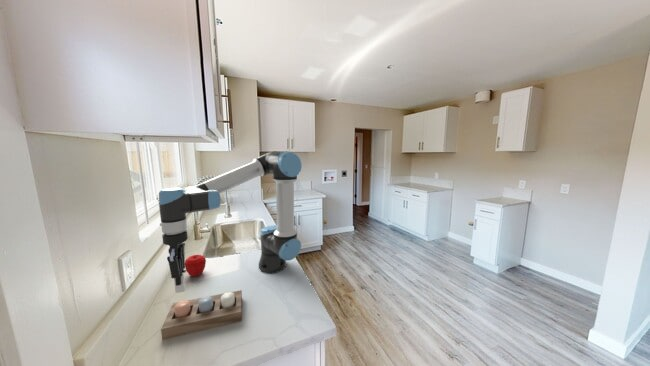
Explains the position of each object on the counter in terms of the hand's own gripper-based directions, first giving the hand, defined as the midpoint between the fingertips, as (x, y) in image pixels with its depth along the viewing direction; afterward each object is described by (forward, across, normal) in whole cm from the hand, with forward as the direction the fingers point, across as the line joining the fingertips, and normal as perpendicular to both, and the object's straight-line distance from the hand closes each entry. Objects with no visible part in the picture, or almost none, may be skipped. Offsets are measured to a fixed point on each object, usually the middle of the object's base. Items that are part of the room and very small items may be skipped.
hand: (180, 291), depth 84 cm
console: (+13, 0, +8) cm, 15 cm away
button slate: (+11, 0, +8) cm, 14 cm away
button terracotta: (+11, 0, 0) cm, 11 cm away
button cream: (+11, 0, +16) cm, 19 cm away
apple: (+13, -35, -2) cm, 37 cm away
